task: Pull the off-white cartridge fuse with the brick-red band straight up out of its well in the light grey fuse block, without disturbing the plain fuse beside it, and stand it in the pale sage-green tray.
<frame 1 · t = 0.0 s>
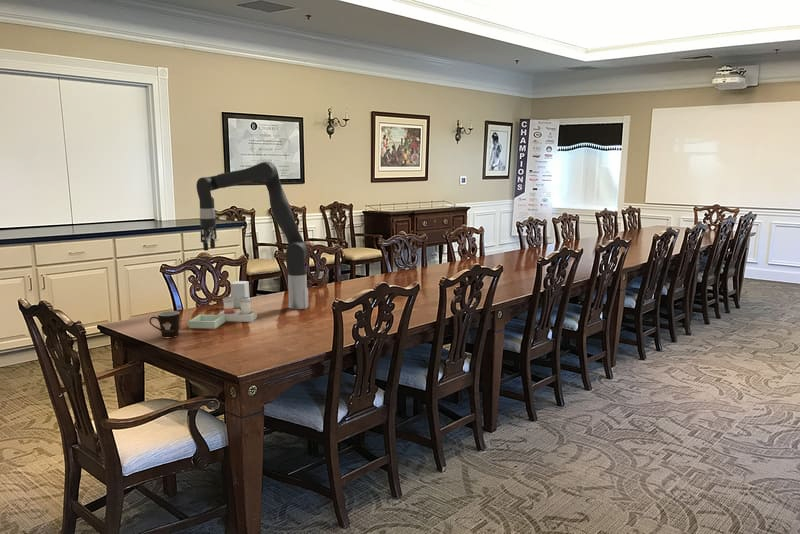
hand: (209, 249, 313), 29 cm above the table, fingers open, 8 cm apart
supplement box: (240, 306, 317), on the table
fuse block: (237, 321, 287), on the table
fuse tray: (207, 326, 277), on the table
coffee mug: (167, 336, 263), on the table
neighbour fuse: (246, 319, 287), point 1 cm above the table, touching fuse block
marked fuse: (229, 318, 287), point 1 cm above the table, touching fuse block
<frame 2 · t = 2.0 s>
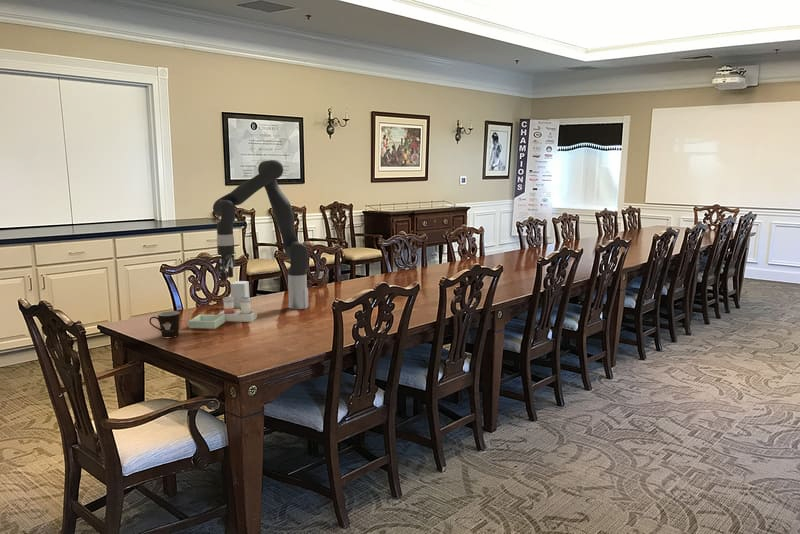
hand: (227, 279, 284), 20 cm above the table, fingers open, 8 cm apart
nothing on the table moved.
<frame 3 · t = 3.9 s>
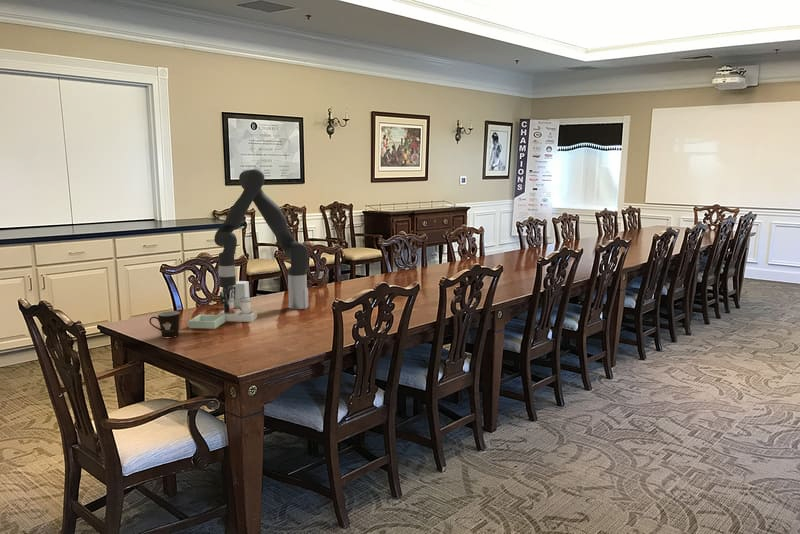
hand: (228, 310, 287), 5 cm above the table, fingers closed on marked fuse, 4 cm apart
marked fuse: (229, 318, 287), point 1 cm above the table, touching fuse block, gripper
everything else where it was.
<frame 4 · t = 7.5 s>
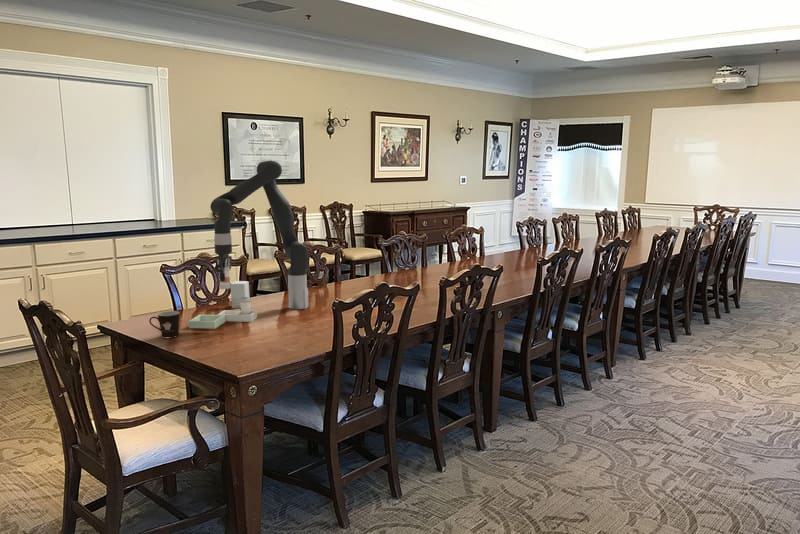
hand: (224, 279, 283), 20 cm above the table, fingers closed on marked fuse, 4 cm apart
marked fuse: (224, 288, 284), point 16 cm above the table, touching gripper
everything else where it was.
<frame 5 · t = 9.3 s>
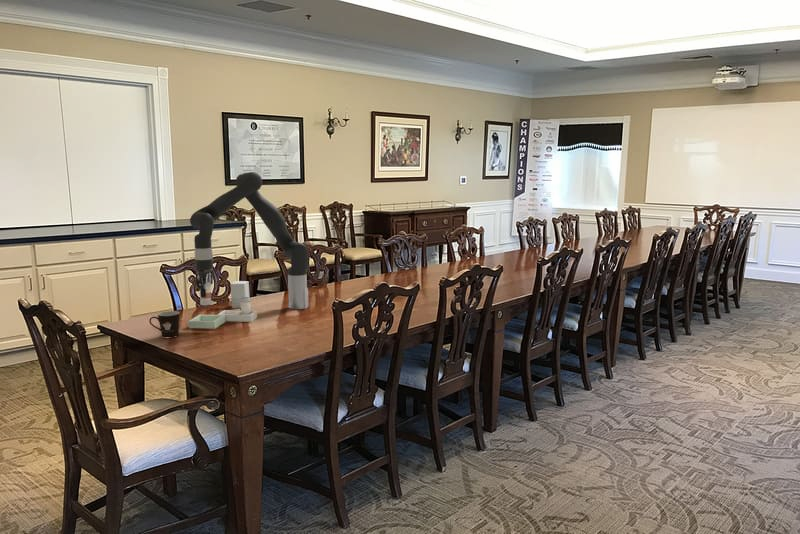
hand: (205, 295, 275), 14 cm above the table, fingers closed on marked fuse, 4 cm apart
marked fuse: (206, 304, 276), point 10 cm above the table, touching gripper
everything else where it was.
when the fingers open (6 cm above the table, at t = 11.1 s): marked fuse drops 1 cm, resting on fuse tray.
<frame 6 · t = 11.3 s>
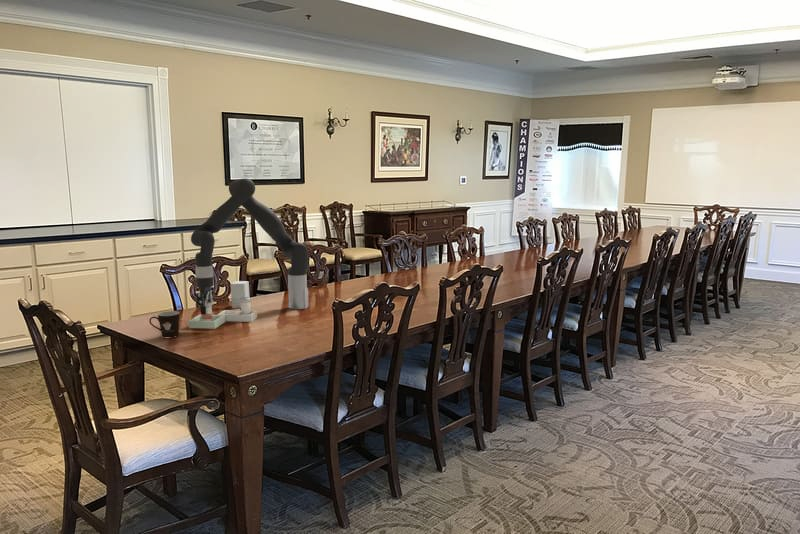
hand: (206, 312, 276), 7 cm above the table, fingers open, 6 cm apart
marked fuse: (207, 324, 277), point 1 cm above the table, touching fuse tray
everything else where it was.
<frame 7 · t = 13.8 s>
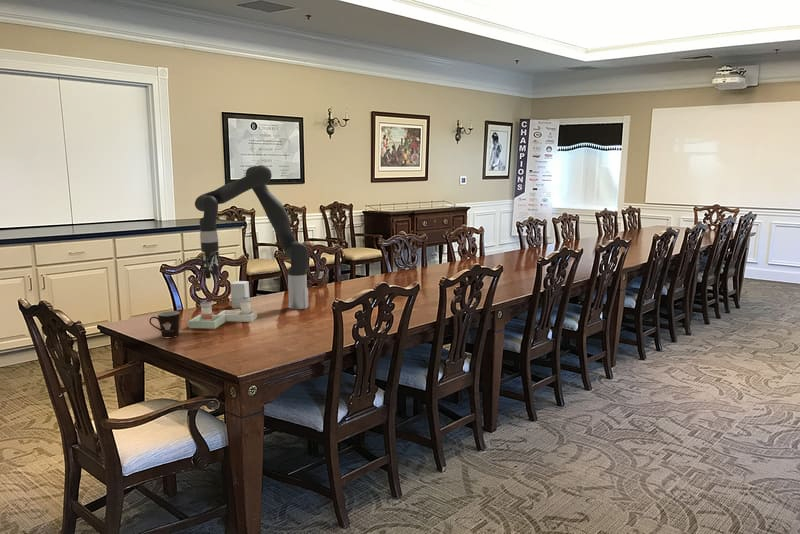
hand: (212, 276, 278), 22 cm above the table, fingers open, 8 cm apart
nothing on the table moved.
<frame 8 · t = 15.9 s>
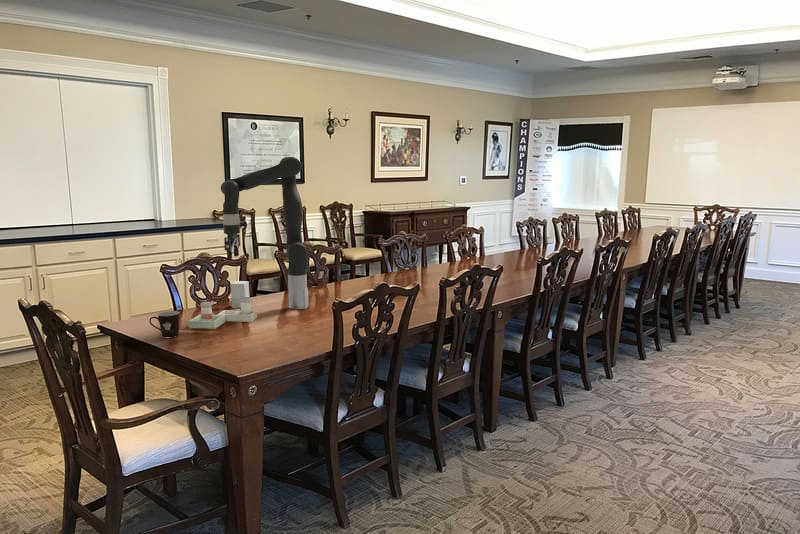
hand: (233, 257, 294), 28 cm above the table, fingers open, 8 cm apart
nothing on the table moved.
at the end: marked fuse inside the target area on the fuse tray (0.0 cm from its centre), point 1.0 cm above the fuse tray's base; the gripper is holding nothing; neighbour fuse moved 0.0 cm from its start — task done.
